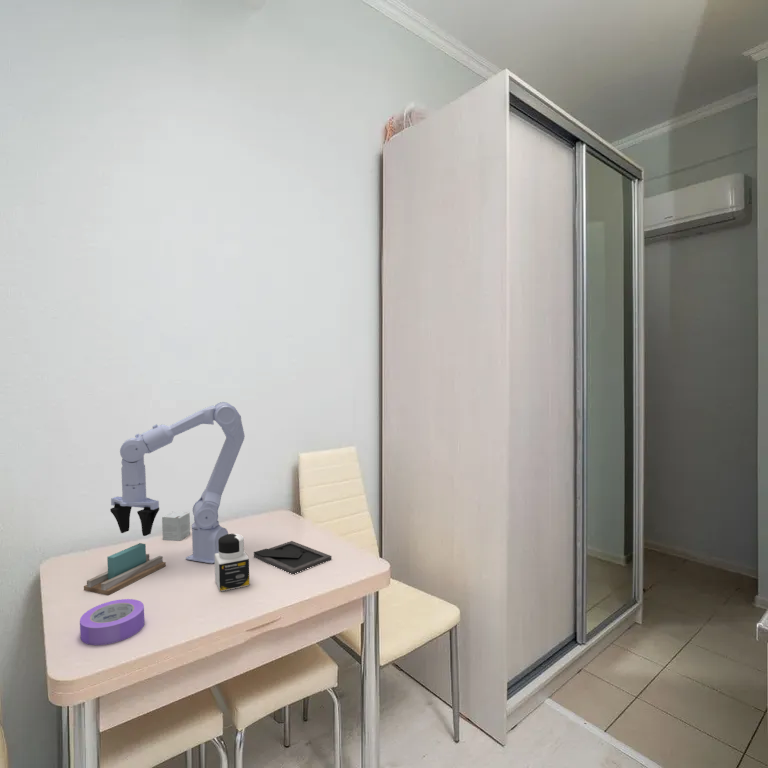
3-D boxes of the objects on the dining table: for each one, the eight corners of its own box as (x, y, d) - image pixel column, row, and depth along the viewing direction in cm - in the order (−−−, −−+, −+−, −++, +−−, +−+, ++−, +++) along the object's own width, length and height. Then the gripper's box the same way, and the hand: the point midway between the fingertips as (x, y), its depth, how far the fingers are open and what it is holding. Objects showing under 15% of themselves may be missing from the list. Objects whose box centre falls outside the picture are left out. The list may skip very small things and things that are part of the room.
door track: (165, 565, 135) (165, 556, 135) (108, 595, 118) (108, 584, 118) (143, 562, 138) (142, 553, 138) (83, 590, 121) (83, 580, 121)
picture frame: (253, 559, 141) (292, 577, 129) (253, 552, 141) (292, 569, 128) (291, 545, 150) (331, 561, 138) (291, 539, 150) (331, 554, 138)
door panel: (146, 566, 133) (145, 544, 132) (114, 581, 123) (113, 557, 123) (140, 565, 133) (139, 543, 133) (108, 580, 124) (107, 556, 124)
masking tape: (83, 653, 95) (82, 633, 95) (77, 627, 104) (77, 609, 104) (149, 633, 102) (149, 614, 101) (139, 610, 111) (138, 593, 111)
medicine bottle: (219, 592, 119) (218, 543, 119) (214, 581, 125) (213, 534, 125) (249, 586, 122) (248, 538, 122) (243, 575, 129) (242, 529, 128)
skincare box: (173, 533, 161) (172, 511, 161) (190, 534, 160) (190, 511, 160) (162, 540, 155) (161, 516, 155) (180, 541, 154) (179, 517, 154)
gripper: (100, 485, 132) (102, 535, 132) (143, 488, 127) (145, 541, 128) (122, 479, 139) (124, 527, 139) (164, 482, 134) (165, 532, 134)
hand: (135, 533), depth 134 cm, fingers open, 7 cm apart
